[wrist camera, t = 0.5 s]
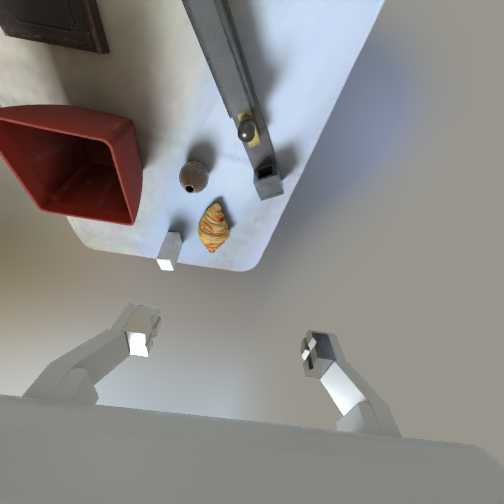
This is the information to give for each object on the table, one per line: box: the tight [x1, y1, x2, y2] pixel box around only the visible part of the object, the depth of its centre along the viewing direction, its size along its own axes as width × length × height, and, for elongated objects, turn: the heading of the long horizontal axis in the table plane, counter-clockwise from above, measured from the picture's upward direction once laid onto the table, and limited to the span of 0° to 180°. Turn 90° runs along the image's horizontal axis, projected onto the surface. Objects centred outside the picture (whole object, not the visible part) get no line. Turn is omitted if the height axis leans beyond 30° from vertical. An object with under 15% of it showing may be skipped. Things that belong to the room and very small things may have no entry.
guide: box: [182, 0, 284, 201], centre depth 42 cm, size 36×6×6 cm, turn 21°
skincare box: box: [157, 232, 183, 270], centre depth 70 cm, size 6×4×12 cm
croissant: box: [198, 203, 230, 253], centre depth 68 cm, size 21×10×8 cm, turn 169°
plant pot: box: [0, 105, 143, 226], centre depth 44 cm, size 19×19×17 cm
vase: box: [179, 161, 209, 193], centre depth 52 cm, size 7×7×9 cm
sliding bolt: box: [237, 109, 261, 148], centre depth 37 cm, size 22×3×7 cm, turn 21°
